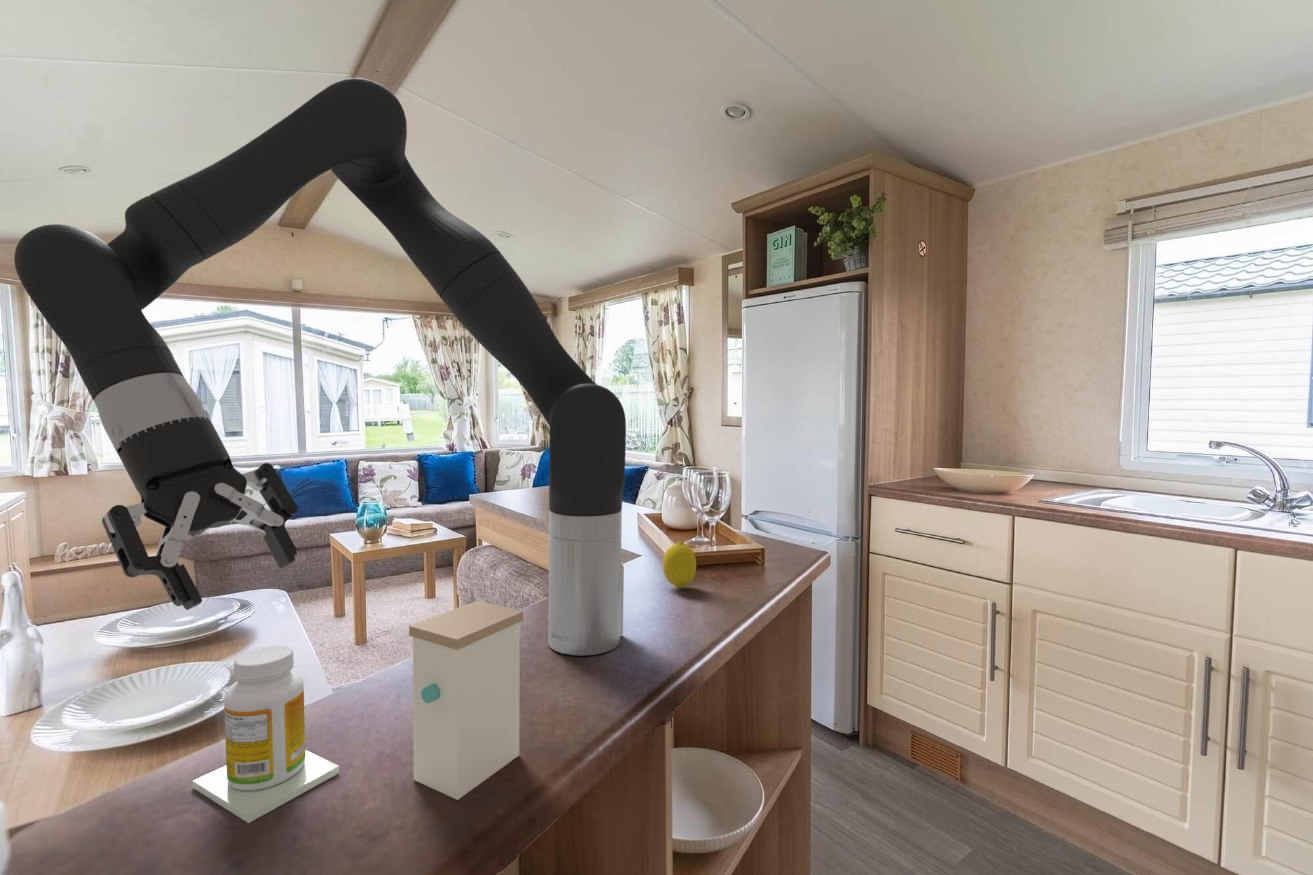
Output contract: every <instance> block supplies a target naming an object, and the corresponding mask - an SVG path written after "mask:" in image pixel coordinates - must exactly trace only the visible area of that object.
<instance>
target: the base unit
mask: <svg viewBox="0 0 1313 875" xmlns="http://www.w3.org/2000/svg"><path fill="white" fill-rule="evenodd" d="M523 621H524V611H523V610H520V609H515V608H510V607H506V606H502V605H497V604H494V603H489V602H484V601H481V600H475V601H472V602H470V603H468V604H465V605H462V606H460V607H457V608H455V609H451V610H449V611H446V612H443V613H440V614H438V615H436V616H435V615H434V616H432V617H430V618H427V619H425V620H421V621H419V622H416V623H413V624H411V625H409V626H408V634H409V635H408V636H409V637H411V638H412V685H413V686H412V692H413V693H412V697H413V699H412V700H413V701H412V702H413V705H412V706H413V709H412V711H413V712H412V715H413V716H412V719H413V722H412V723H413V724H412V725H413V726H412V727H413V728H412V730H413V731H412V732H413V734H412V735H413V740H412V741H413V781H415V782H417V783H420V784H422V785H424V786H427V787H428V788H430V789H432V790H435V791H437V792H439V793H442V794H444V795H445V796H448V797H450V798H452V799H454V800H457V801H458V800H460V799H461V798H463V797H464V796H465V795H467V794H468V793H470V792H471V791H473V789H475V788H476V787H478V786H479V785H481V784H482V783H483V782H485V781H486V780H488V779H489V778H490V777H491V776H493V775H494V774H496V772H498V771H500V770H501V769H503V768H504V767H506V766H507V765H508V764H510V763H511V762H512V761H513V760H514V759H516V758H517V757H519V756H520V691H521V690H520V684H521V683H520V680H521V678H520V676H521V675H520V674H521V673H520V672H521V671H520V670H521V667H520V666H521V664H520V663H521V662H520V658H521V656H520V654H521V652H520V651H521V650H520V649H521V643H520V642H521V641H520V640H521V639H520V638H521V622H523Z"/></svg>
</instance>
